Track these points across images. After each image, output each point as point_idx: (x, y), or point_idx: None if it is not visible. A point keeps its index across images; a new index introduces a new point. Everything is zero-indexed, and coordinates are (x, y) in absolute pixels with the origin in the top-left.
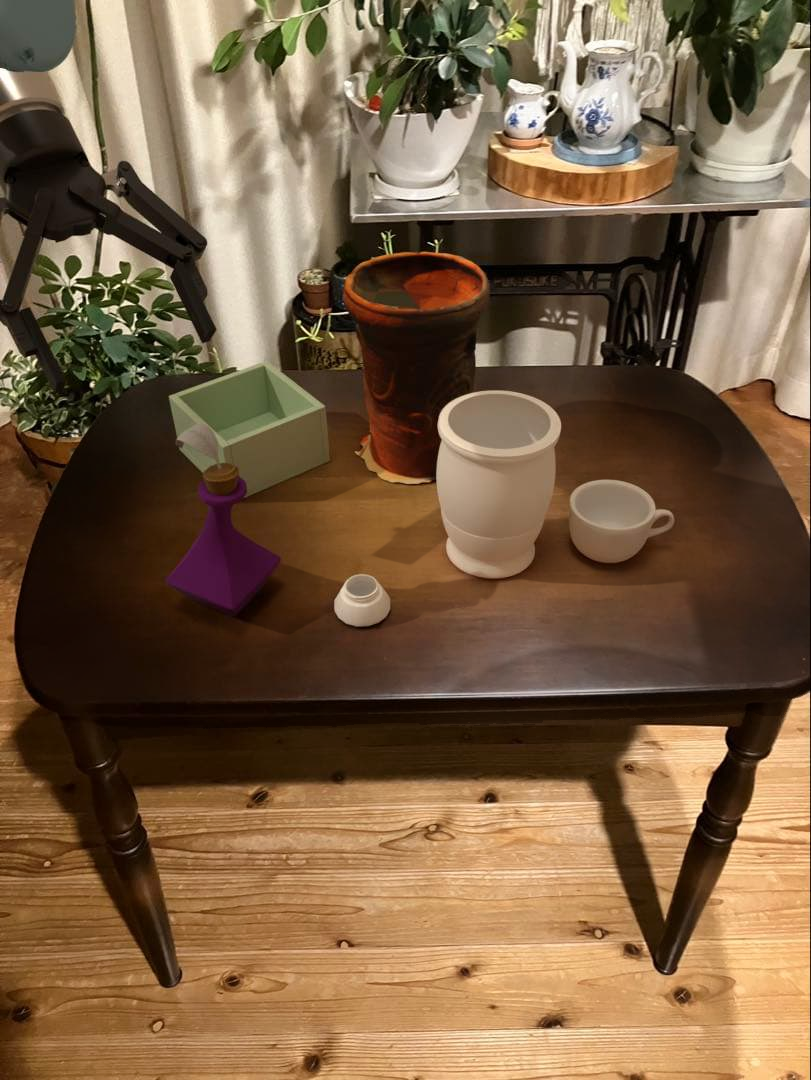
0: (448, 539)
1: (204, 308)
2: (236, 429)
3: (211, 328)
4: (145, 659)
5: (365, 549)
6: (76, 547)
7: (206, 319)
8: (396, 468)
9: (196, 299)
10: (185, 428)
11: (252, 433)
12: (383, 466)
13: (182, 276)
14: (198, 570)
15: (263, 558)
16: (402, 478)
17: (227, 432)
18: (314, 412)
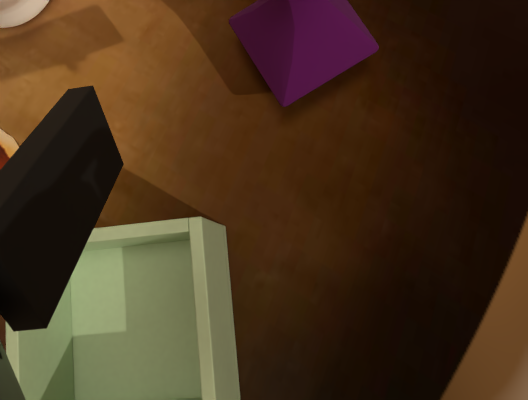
0: (36, 4)
1: (46, 119)
2: (143, 386)
3: (78, 90)
4: (428, 5)
5: (125, 53)
6: (454, 249)
7: (69, 105)
8: (4, 159)
9: (42, 139)
10: (223, 369)
11: (142, 228)
12: None
13: (9, 193)
14: (340, 2)
15: (251, 5)
16: (10, 150)
17: (159, 386)
18: None
